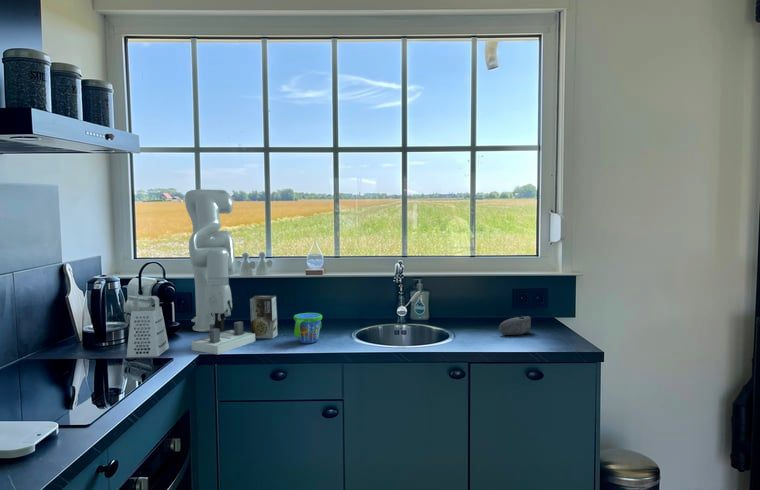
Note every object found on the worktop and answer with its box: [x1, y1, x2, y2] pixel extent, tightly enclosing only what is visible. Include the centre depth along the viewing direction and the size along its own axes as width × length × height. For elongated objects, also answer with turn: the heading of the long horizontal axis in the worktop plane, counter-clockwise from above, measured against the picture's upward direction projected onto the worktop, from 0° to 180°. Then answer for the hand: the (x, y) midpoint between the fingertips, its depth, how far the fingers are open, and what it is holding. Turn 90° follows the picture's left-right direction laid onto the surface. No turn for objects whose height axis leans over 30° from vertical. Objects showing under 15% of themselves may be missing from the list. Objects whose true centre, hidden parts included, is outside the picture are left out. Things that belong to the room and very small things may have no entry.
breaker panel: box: [191, 329, 256, 355], centre depth 178 cm, size 13×19×3 cm
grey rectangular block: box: [207, 323, 221, 337], centre depth 180 cm, size 3×3×4 cm
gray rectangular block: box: [233, 321, 245, 335], centre depth 183 cm, size 3×3×4 cm
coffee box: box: [249, 295, 278, 339], centre depth 190 cm, size 9×6×16 cm
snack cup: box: [293, 312, 323, 344], centre depth 183 cm, size 16×10×10 cm
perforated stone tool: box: [498, 315, 532, 336], centre depth 191 cm, size 15×5×7 cm, turn 106°
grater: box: [126, 295, 170, 358], centre depth 170 cm, size 10×10×20 cm
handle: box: [208, 328, 221, 343], centre depth 172 cm, size 3×3×4 cm
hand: (219, 330), depth 179 cm, fingers closed
